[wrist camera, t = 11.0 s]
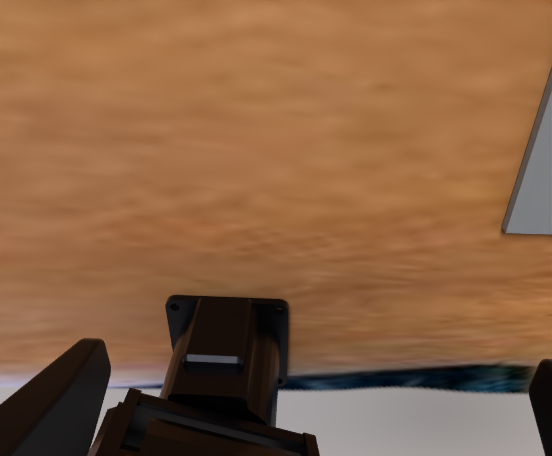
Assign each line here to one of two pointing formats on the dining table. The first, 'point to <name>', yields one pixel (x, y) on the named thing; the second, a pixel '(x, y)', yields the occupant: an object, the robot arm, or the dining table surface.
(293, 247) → the dining table surface
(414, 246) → the dining table surface
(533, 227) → the mat
